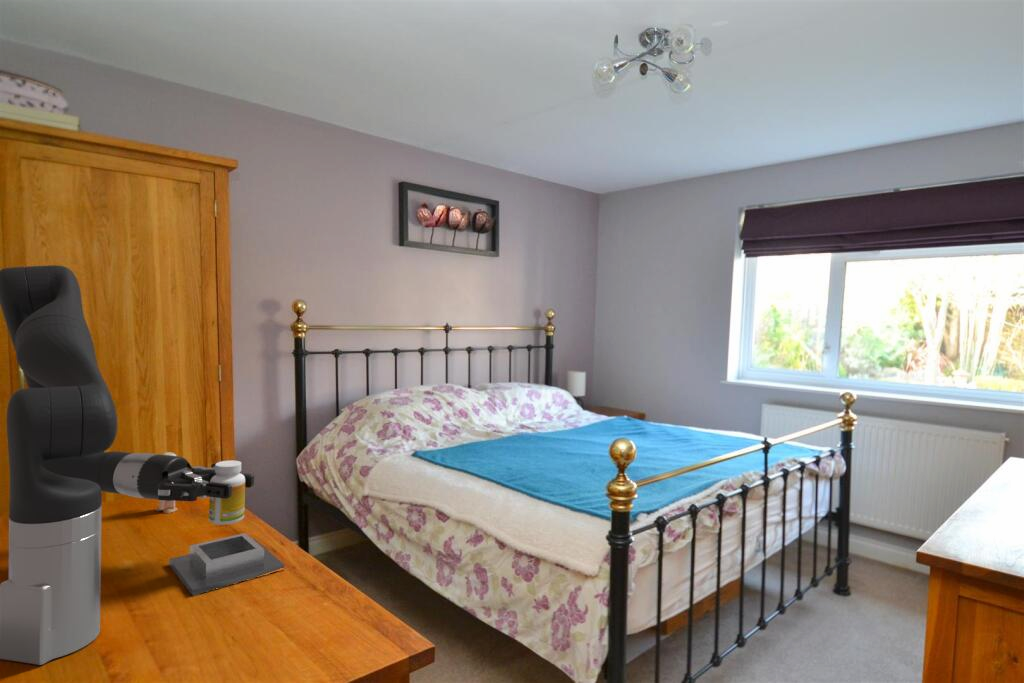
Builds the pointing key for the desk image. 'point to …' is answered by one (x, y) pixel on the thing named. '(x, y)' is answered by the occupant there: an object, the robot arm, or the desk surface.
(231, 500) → the supplement bottle
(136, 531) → the desk surface
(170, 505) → the grandmother figurine
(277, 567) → the socket plate
